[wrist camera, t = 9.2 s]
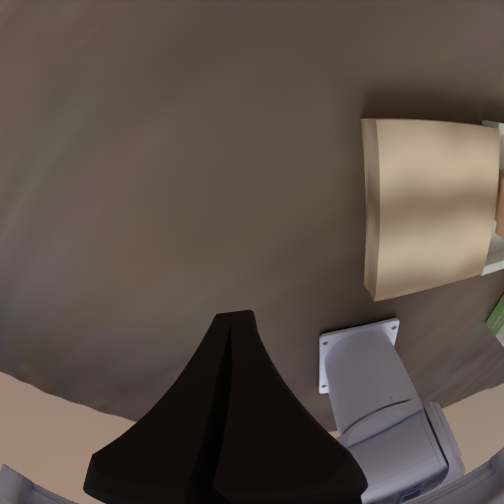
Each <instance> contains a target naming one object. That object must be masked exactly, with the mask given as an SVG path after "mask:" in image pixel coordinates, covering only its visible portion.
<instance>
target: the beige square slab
mask: <svg viewBox="0 0 504 504" xmlns="http://www.w3.org/2000/svg"><path fill="white" fill-rule="evenodd" d="M360 120H361V130H362V141H363V154H364V170H365V195H366V247H365V272H364V285H365V287H366V288H367V290H368V292H369V293H370V295H371V297H372V298H373V300H374V302H376V301H381V300H385V299H390V298H394V297H398V296H402V295H407V294H411V293H415V292H419V291H423V290H426V289H430V288H434V287H438V286H441V285H445V284H449V283H452V282H456V281H459V280H463V279H466V278H469V277H473V276H476V275H479V274H482V273H483V270H484V266H485V261H486V257H487V253H488V248H489V243H490V238H491V233H492V227H493V221H494V215H495V207H496V199H497V189H498V176H499V151H500V138H499V129H497V128H493V127H488V126H483V125H477V124H469V123H461V122H451V121H440V120H425V119H399V118H366V119H360Z"/></svg>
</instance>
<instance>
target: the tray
mask: <svg viewBox="0 0 504 504" xmlns="http://www.w3.org/2000/svg"><path fill="white" fill-rule="evenodd" d="M481 121H482V125H483V126H488V127H493V128H497V129H499V138H500V151H499V169H504V124H503V123H498V122H493V121H487V120H481ZM498 183H499V176H498ZM497 194H498V189H497ZM496 203H497V199H496ZM495 211H496V207H495ZM494 218H495V215H494ZM496 224H497V222H496V221H495V220H494V221H493V227H492V233H491V238H490V243H489V248H488V253H487V257H486V261H485V266H484V270H483V273H482V274H480V275H481V276H482V275H485V274H488V273H491V272H494V271H497V270H500V269H503V268H504V240H503V239H502V238H501V237H499V236H498V235H496V234H495V230H496Z"/></svg>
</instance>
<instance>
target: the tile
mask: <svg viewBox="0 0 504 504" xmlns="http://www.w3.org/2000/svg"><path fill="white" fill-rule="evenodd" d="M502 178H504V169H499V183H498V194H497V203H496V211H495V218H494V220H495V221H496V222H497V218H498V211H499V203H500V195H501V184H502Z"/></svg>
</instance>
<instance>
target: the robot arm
mask: <svg viewBox="0 0 504 504" xmlns="http://www.w3.org/2000/svg"><path fill="white" fill-rule="evenodd" d="M398 327H399V320H398V318H392V319H388V320H384V321H380V322H376V323H372V324H367V325H363V326H358V327H354V328H349V329H344V330H339V331H334V332H329V333H324V334H322V335H321V336H320V337H319V392H320V393H327V392H329V396H330V400H331V404H332V408H333V413H334V417H335V421H336V425H337V430H338V433H339V435H340V437H338V438H336V439H335V438H334V437H332V436H331V435H330V434H329V433H328V432H327V431H326V430H325V429H324V428H323V427H322V426H321V425H320V424H319V423H318V422H317V421H316V420H315V419H314V418H313V417H312V415H311V414H310V413H309V412H308V411H307V410H306V409H305V408H304V406H303V405H302V404H301V403H300V402H299V401H298V399H297V398H296V397H295V395H294V394H293V393H292V392H291V390H290V389H289V387H288V386H287V385H286V383H285V382H284V380H283V379H282V377H281V376H280V374H279V373H278V371H277V370H276V368H275V366H274V364H273V363H272V361H271V359H270V357H269V355H268V354H267V352H266V349H265V347H264V345H263V343H262V341H261V339H260V336H259V334H258V330H257V325H256V320H255V316H254V312H253V311H252V310H244V311H236V312H228V313H220V314H216V316H215V317H214V319H213V321H212V323H211V325H210V327H209V329H208V331H207V333H206V334H205V336H204V338H203V340H202V342H201V343H200V345H199V347H198V348H197V350H196V352H195V353H194V355H193V357H192V358H191V360H190V361H189V363H188V364H187V366H186V367H185V368H184V370H183V371H182V373H181V374H180V376H179V377H178V378H177V380H176V381H175V382H174V384H173V385H172V386H171V387H170V389H169V390H168V391H167V392H166V393H165V395H164V396H163V397H162V398H161V399H160V400H159V401H158V402H157V403H156V404H155V405H154V407H153V408H152V409H151V410H150V411H149V412H148V413H147V414H146V415H145V416H144V417H142V418H141V419H140V420H139V421H138V422H137V423H136V424H134V425H133V426H132V427H131V428H130V429H129V430H127V431H126V432H125V433H124V434H122V435H121V436H120V437H118V438H117V439H116V440H114V441H113V442H111V443H110V444H108V445H107V446H105V447H104V448H102V449H101V450H99V451H97V452H96V453H94V454H93V455H92V458H91V460H90V463H89V467H88V470H87V475H86V479H85V483H84V486H83V490H84V491H85V493H87V494H88V495H90V496H92V497H93V498H95V499H97V500H99V501H101V502H103V503H106V504H504V448H503V449H501V450H500V451H499V452H498V453H496V454H495V455H494V456H493V457H491V459H490V460H489V461H487V462H485V463H484V464H482V465H481V466H479V467H478V468H476V469H475V470H473V471H471V472H469V473H468V474H466V475H464V473H465V471H466V470H465V467H464V464H463V461H462V459H461V452H460V450H459V447H458V445H457V442H456V440H455V438H454V436H453V433H452V431H451V429H450V426H449V424H448V422H447V420H446V418H445V416H444V413H443V411H442V409H441V407H440V405H439V403H436V402H432V401H428V402H427V403H426V404H425V406H424V405H423V403H422V402H421V400H420V399H419V397H418V395H417V392H416V390H415V388H414V386H413V384H412V382H411V380H410V378H409V376H408V374H407V372H406V370H405V368H404V366H403V364H402V362H401V360H400V358H399V356H398V354H397V352H396V350H395V348H394V344H395V340H396V336H397V331H398ZM323 342H325V343H323ZM0 504H78V503H75V502H73V501H70V500H68V499H66V498H64V497H61V496H59V495H57V494H55V493H52V492H50V491H48V490H46V489H44V488H42V487H40V486H38V485H36V484H35V483H33V482H32V481H30V480H29V479H27V478H26V477H24V476H23V475H21V474H19V473H18V472H16V471H14V470H13V469H11V468H10V467H8V466H6V465H2V468H1V471H0Z"/></svg>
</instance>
